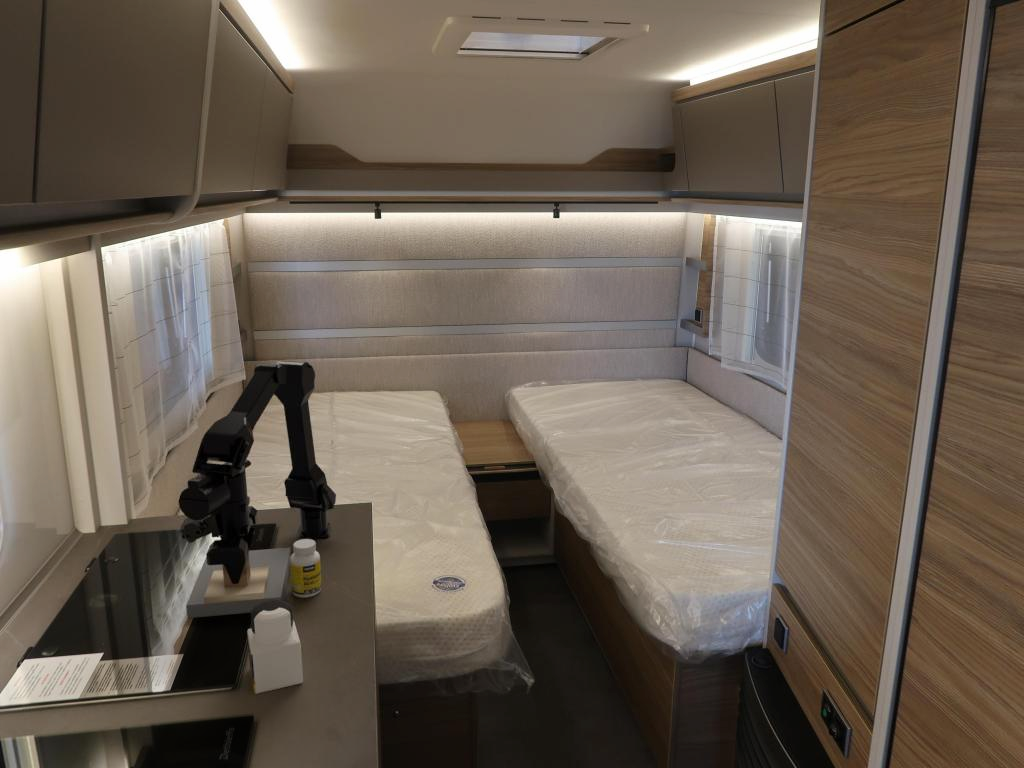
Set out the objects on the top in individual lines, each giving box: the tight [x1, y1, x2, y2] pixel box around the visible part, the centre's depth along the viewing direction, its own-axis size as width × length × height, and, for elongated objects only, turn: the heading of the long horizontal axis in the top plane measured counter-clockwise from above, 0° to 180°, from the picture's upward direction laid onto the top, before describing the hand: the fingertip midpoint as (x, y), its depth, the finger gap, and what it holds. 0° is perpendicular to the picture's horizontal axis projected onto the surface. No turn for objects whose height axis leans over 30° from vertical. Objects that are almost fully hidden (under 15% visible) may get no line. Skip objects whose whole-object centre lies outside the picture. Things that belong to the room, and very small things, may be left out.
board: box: [185, 547, 292, 619], centre depth 147 cm, size 20×16×2 cm
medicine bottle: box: [246, 600, 304, 694], centre depth 119 cm, size 7×7×12 cm
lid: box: [204, 553, 270, 604], centre depth 141 cm, size 10×10×6 cm
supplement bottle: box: [289, 538, 322, 599], centre depth 145 cm, size 5×5×10 cm
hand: (237, 577), depth 142 cm, fingers open, 4 cm apart
